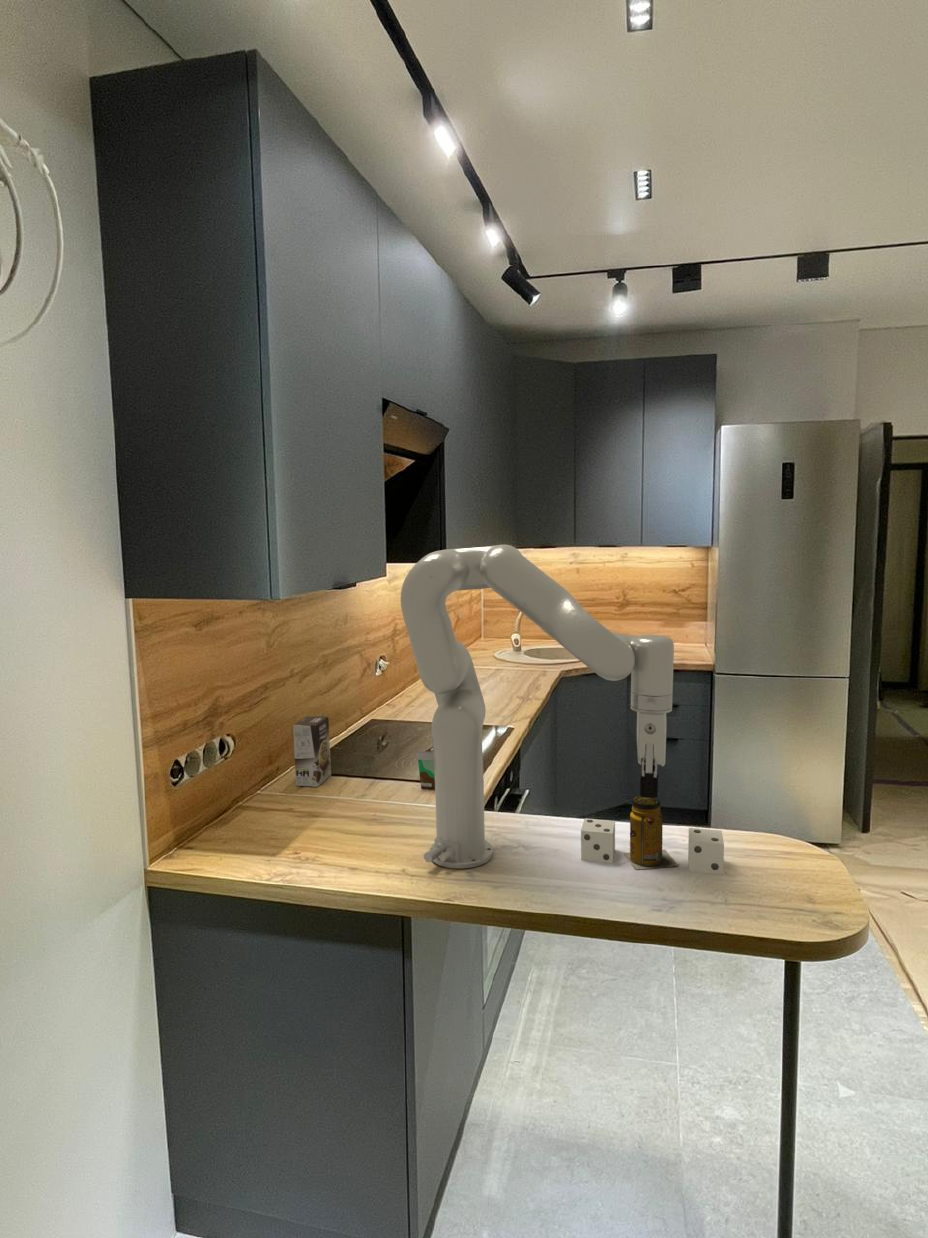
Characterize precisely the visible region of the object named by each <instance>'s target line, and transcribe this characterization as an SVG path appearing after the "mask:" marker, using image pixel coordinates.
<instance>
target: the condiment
mask: <svg viewBox="0 0 928 1238" xmlns="http://www.w3.org/2000/svg"><path fill="white" fill-rule="evenodd" d="M631 805H632V806H631V810H632V811H631V812H630V813H629V815H630V817H629V852H623V854H624V855H625V857H626V859H627V860H628V862H629V863H631V865H632V866H633V868H634V869H635V870H647V869H649V870H650V869H659V868H660V869H661V868H671V867H679V866H680V865H679V864H678V863H677V862H676V861H675V860H674V858H673V857H672V856H671V855H670V853H668V851H667V850H666V849H663V819H664V818H663V815H662V813H661V812H662V809H661V801H660V800H659V799H658V798H651V797H641V796H640V795H638V796H636V797H634V798H633V799H632V801H631Z"/></svg>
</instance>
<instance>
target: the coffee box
mask: <svg viewBox="0 0 928 1238" xmlns="http://www.w3.org/2000/svg"><path fill="white" fill-rule="evenodd" d="M329 718H330V717H329V716H323V715H322V716H320V715H318V716H314V715H313V716H309V715H307V716H305V717H304V718H302V719H300V720H299V721H297V722H295V723H294V724H292V731H293V733H292V734H293V735H292V736H293V750H294V751H293V757H294V772H295V773H294V775H295V776H294V777H295V786H298V787H299V786H300V787H313V788H317V787H320V786H321V784H323V783H324V782H325V781H326V780H327V779H329V777H331V776H332V766H331V765H332V764H331V763H332V761H331V744H330V741H331V740H330V719H329Z"/></svg>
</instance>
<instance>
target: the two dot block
mask: <svg viewBox="0 0 928 1238" xmlns="http://www.w3.org/2000/svg"><path fill="white" fill-rule="evenodd" d="M724 841H725V840H724V836H723V830H719V829H707V828H696V827H695V828H694V827H688V845H687V846H688V850H687V851H688V852H687V853H688V855H687V857H688V872H691V873H692V872H693V873H704V874H711V875H712V874H713V875H722V876H723V875H724V864H725V861H724V857H725V842H724Z"/></svg>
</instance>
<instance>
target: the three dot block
mask: <svg viewBox="0 0 928 1238" xmlns="http://www.w3.org/2000/svg"><path fill="white" fill-rule="evenodd" d="M615 852H616V821H615V820H609V819H607V820H605V819H595V818H584V819H583V822H582V826H581V829H580V861H589V862H590V861H591V862H599V863H609V864H613V863H614V857H615Z"/></svg>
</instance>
